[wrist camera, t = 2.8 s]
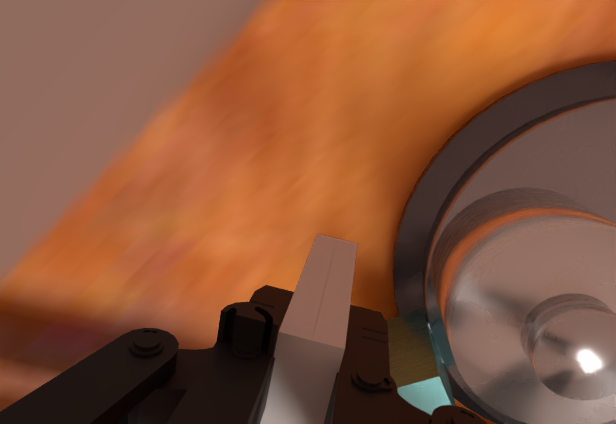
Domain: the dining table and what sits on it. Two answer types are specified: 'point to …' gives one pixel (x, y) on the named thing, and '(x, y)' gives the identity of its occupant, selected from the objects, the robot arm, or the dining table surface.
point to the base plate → (462, 155)
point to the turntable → (489, 179)
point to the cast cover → (531, 305)
